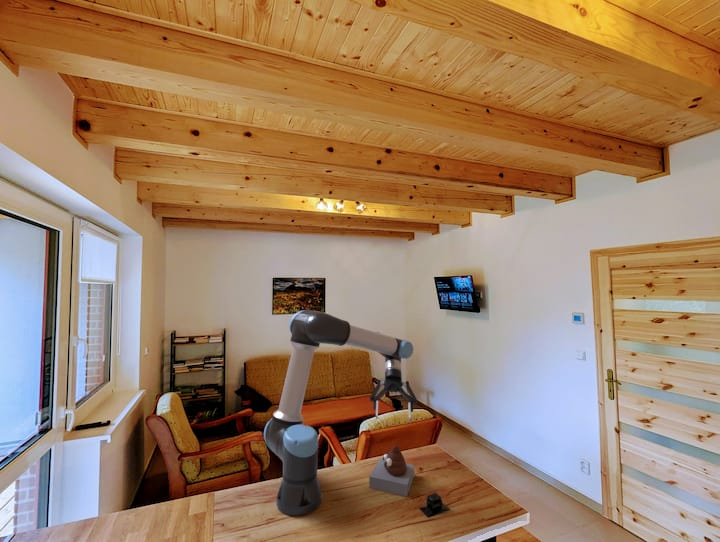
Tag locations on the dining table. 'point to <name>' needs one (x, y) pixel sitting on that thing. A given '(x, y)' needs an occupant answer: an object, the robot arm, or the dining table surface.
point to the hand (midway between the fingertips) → (393, 418)
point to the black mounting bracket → (434, 506)
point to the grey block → (391, 479)
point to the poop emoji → (395, 462)
